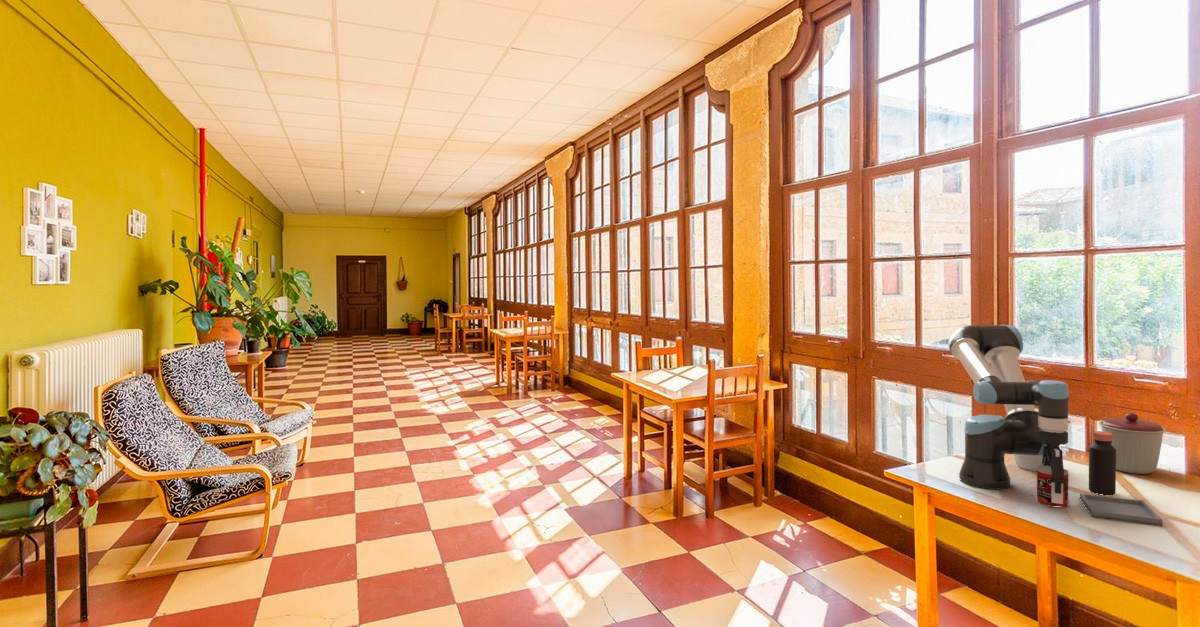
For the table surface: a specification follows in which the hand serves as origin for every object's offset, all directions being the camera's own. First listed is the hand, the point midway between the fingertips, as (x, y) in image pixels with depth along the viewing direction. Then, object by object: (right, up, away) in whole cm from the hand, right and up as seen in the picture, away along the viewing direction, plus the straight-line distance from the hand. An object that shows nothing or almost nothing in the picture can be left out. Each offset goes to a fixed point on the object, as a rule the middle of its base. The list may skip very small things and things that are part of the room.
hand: (1052, 495), depth 186 cm
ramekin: (+19, 0, +34) cm, 39 cm away
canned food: (0, -3, 0) cm, 3 cm away
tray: (+14, -2, -8) cm, 16 cm away
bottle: (+22, -1, +8) cm, 24 cm away
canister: (+50, +1, +28) cm, 57 cm away
